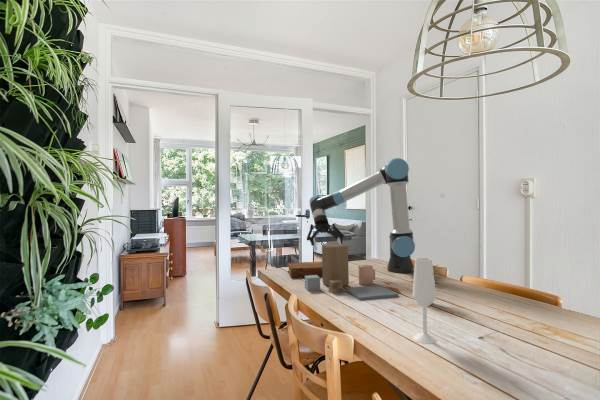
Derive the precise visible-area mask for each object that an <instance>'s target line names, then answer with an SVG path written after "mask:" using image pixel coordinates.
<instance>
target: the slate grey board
mask: <svg viewBox="0 0 600 400" xmlns="http://www.w3.org/2000/svg"><path fill="white" fill-rule="evenodd" d="M345 292H347V293H348V294H349V295H351V296H353V297H355V298H356V300H359V301H367V300H377V299H387V298H388V299H389V298H399V293H398V292H395V291H393V290H391V289H390V288H388V287H386V286H384V285H382V284H381V285H371V286H358V287H346V288H345Z"/></svg>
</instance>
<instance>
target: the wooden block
mask: <svg viewBox="0 0 600 400" xmlns="http://www.w3.org/2000/svg"><path fill="white" fill-rule="evenodd" d="M321 261H322V272H323V276H322V284H323V285H326V286H328V287H329V280H340V281H342V282H343V287H347V286H349V283H350V282H349V280H350V279H349V247H348V245H345V244H343V243H342V244H338V243H326V244H322V246H321Z"/></svg>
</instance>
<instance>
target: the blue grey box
mask: <svg viewBox="0 0 600 400" xmlns="http://www.w3.org/2000/svg"><path fill="white" fill-rule="evenodd" d="M304 289H305V290H306V291H308V292H312V291H313V292H314V291H320V290H321V277H319V276H317V275H308V276H305V277H304Z"/></svg>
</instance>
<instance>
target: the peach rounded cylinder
mask: <svg viewBox="0 0 600 400" xmlns="http://www.w3.org/2000/svg"><path fill="white" fill-rule="evenodd" d="M375 280H376V269H374V266H373V265H369V264H361V265H358V285H359V286H361V287H367V286H374V281H375Z"/></svg>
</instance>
